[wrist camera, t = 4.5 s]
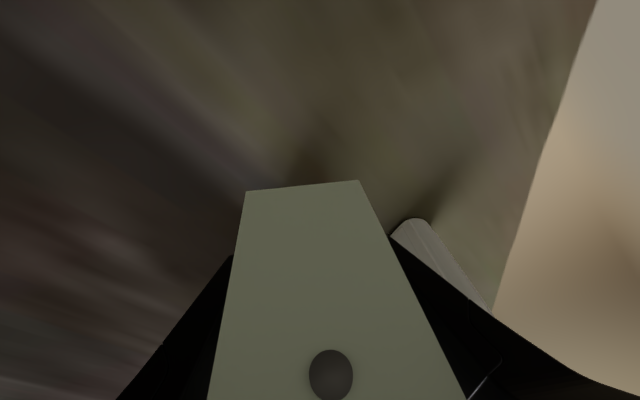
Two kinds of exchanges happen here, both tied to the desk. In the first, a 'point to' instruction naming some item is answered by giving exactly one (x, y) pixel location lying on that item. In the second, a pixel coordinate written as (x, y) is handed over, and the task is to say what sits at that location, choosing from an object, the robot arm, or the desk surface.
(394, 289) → the domino
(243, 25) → the desk surface
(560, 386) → the robot arm
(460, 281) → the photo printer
